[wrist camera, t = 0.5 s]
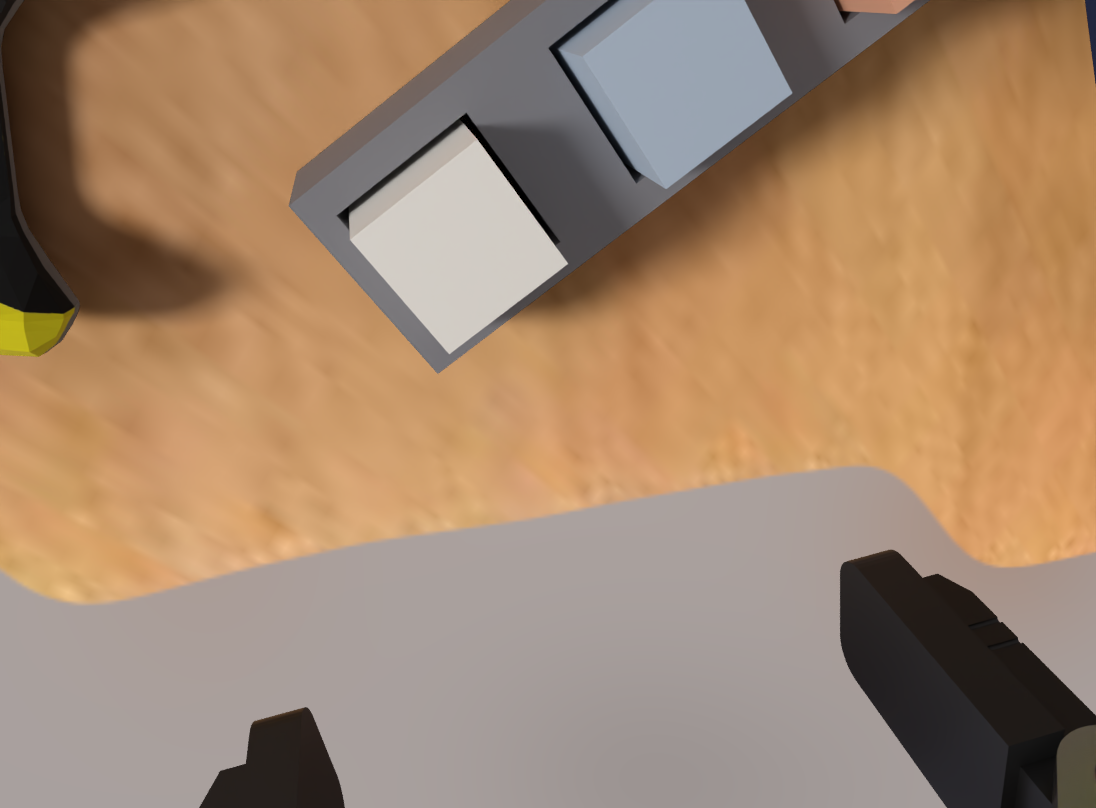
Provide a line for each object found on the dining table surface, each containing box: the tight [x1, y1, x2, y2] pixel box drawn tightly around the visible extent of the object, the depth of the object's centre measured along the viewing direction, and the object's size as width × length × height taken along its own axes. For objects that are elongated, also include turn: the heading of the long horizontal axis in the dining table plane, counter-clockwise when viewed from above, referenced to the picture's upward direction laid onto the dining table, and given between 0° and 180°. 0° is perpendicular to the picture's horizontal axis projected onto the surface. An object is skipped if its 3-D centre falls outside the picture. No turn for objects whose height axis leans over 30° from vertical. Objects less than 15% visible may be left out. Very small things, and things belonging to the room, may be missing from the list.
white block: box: [349, 119, 568, 354], centre depth 31 cm, size 5×5×6 cm
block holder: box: [289, 0, 929, 373], centre depth 33 cm, size 26×8×6 cm, turn 126°
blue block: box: [549, 0, 792, 189], centre depth 30 cm, size 5×5×6 cm
